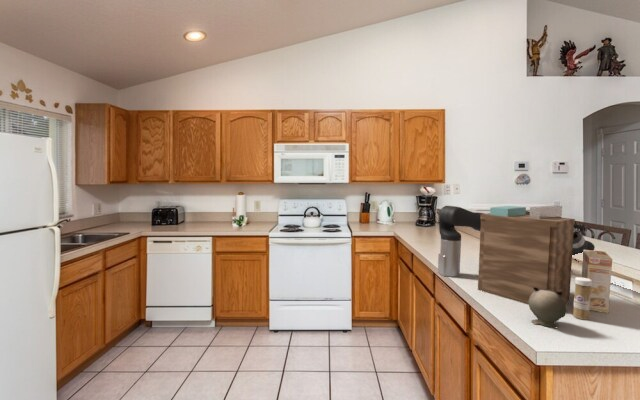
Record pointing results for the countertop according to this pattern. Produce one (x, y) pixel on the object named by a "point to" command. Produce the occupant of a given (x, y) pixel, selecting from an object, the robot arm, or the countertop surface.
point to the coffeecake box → (598, 278)
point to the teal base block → (507, 211)
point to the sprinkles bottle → (582, 298)
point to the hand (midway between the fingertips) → (559, 220)
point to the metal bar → (545, 211)
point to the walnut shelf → (525, 255)
